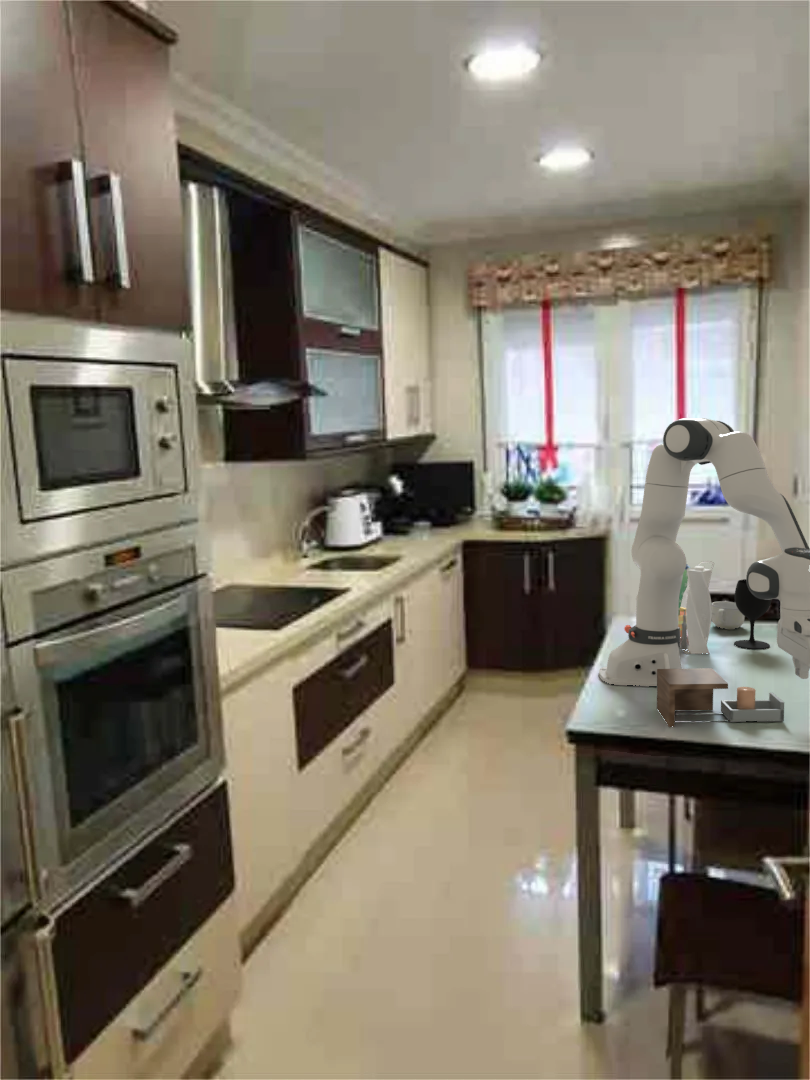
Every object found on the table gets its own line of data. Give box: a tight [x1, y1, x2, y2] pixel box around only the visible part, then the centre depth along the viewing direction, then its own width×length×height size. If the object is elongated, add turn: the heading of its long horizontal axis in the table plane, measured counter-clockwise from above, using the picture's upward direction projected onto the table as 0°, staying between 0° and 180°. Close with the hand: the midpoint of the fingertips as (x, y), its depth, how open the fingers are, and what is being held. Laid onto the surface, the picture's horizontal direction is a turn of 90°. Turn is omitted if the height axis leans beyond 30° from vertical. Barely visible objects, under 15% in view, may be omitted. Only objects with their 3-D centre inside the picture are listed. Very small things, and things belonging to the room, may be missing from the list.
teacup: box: [711, 600, 746, 630], centre depth 275 cm, size 14×11×8 cm
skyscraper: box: [680, 560, 715, 655], centre depth 247 cm, size 8×8×28 cm
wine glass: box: [733, 578, 772, 650], centre depth 252 cm, size 10×10×20 cm
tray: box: [720, 692, 785, 723], centre depth 193 cm, size 12×7×4 cm, turn 86°
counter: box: [656, 667, 766, 728], centre depth 193 cm, size 26×12×10 cm, turn 86°
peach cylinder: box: [736, 686, 757, 709], centre depth 193 cm, size 4×4×6 cm
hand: (801, 676), depth 191 cm, fingers closed
